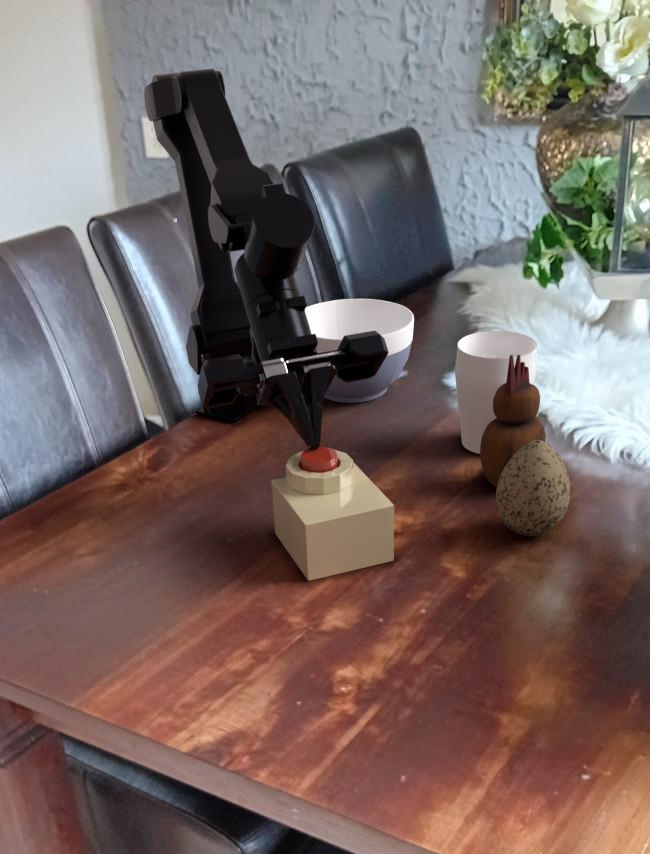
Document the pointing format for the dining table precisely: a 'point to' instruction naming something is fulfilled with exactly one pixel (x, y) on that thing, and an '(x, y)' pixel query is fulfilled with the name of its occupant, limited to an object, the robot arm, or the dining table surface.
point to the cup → (486, 377)
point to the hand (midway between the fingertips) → (315, 448)
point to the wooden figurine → (511, 421)
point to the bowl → (357, 318)
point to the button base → (332, 518)
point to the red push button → (319, 460)
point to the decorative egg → (533, 490)
